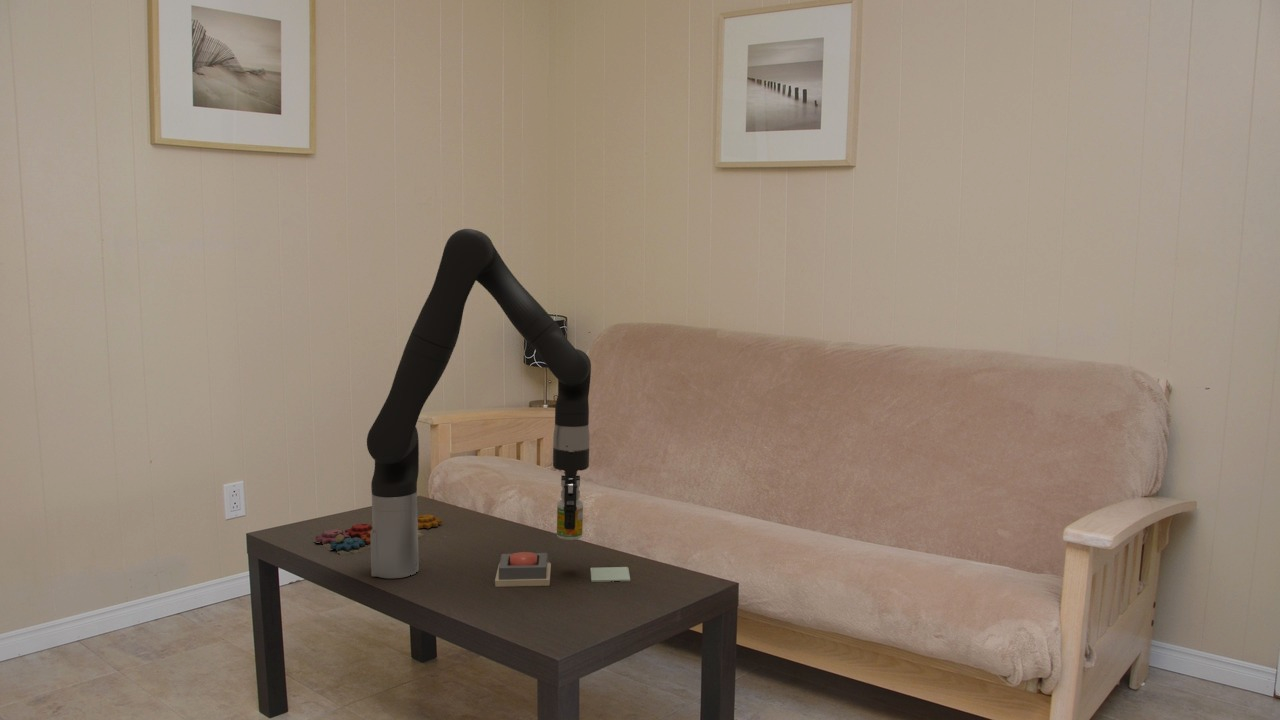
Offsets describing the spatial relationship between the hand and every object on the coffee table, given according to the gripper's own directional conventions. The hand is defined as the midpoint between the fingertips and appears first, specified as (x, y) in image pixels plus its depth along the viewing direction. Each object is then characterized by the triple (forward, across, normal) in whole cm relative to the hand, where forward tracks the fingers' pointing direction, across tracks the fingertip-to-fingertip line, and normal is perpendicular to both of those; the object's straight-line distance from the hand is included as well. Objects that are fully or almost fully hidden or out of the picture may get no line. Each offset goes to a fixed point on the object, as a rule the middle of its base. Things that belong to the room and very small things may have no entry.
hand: (569, 524), depth 201 cm
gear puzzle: (+12, -30, -44) cm, 55 cm away
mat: (+10, +2, +9) cm, 14 cm away
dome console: (+11, +2, -9) cm, 14 cm away
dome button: (+9, +2, -9) cm, 13 cm away
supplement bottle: (+3, 0, 0) cm, 3 cm away
